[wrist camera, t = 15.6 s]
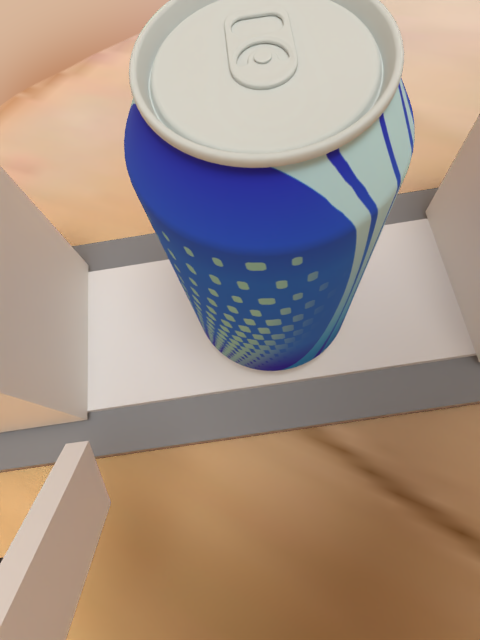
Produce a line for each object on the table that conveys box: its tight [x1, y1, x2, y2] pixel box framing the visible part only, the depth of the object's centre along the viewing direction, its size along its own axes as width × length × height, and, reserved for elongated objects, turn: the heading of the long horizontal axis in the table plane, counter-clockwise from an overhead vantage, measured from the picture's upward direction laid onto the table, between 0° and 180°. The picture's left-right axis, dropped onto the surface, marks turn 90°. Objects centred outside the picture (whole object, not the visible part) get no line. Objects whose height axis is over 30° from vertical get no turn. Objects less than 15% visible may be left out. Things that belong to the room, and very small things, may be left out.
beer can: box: [124, 0, 414, 371], centre depth 17 cm, size 8×8×16 cm
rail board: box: [0, 114, 480, 472], centre depth 21 cm, size 38×14×12 cm, turn 98°
